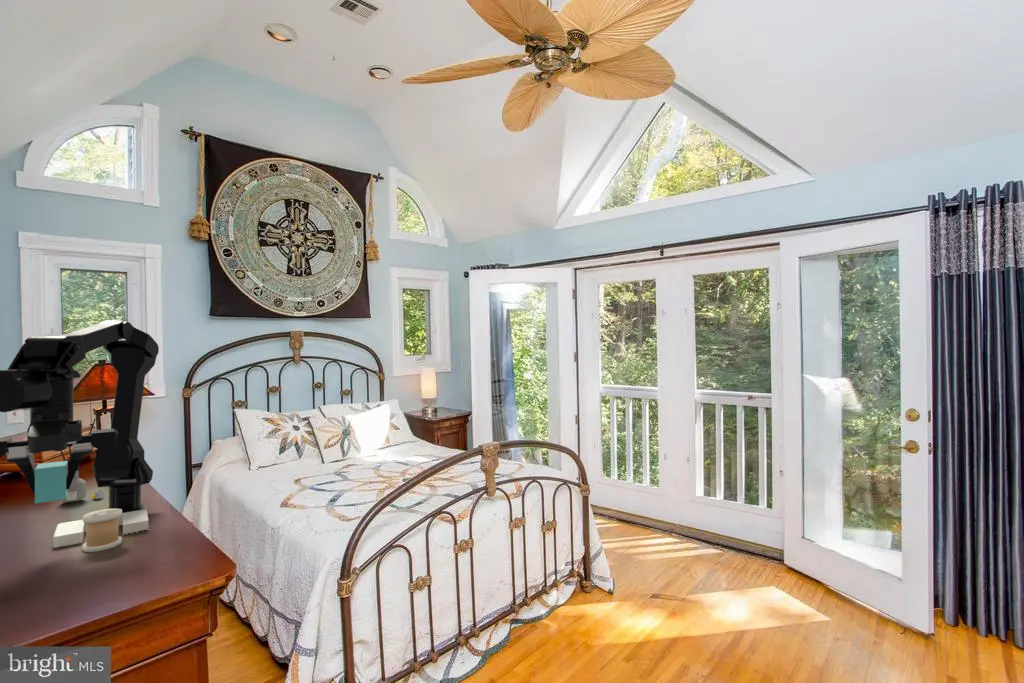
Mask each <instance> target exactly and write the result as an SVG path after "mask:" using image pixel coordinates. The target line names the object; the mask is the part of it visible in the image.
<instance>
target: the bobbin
mask: <svg viewBox="0 0 1024 683" xmlns="http://www.w3.org/2000/svg"><path fill="white" fill-rule="evenodd" d="M120 516H122V509H117V508H114V509H108V508H105V509H99V510H94V511H91V512H88V513H86V514H84V515H82V520H83V522H85V523H86V532H85V533H86V534H85V536H86V537H85V542H84V543H83V544H82V545H81V546H82V548H81V550H82V552H84V553H97V552H102V551H107V550H111V549H113V548H116V547H118V546H120V545H121V544H122V543H123V537H122V536H120V535H119V534H120V532H119V529H120V528H119V527H120V526H119V517H120Z"/></svg>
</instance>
